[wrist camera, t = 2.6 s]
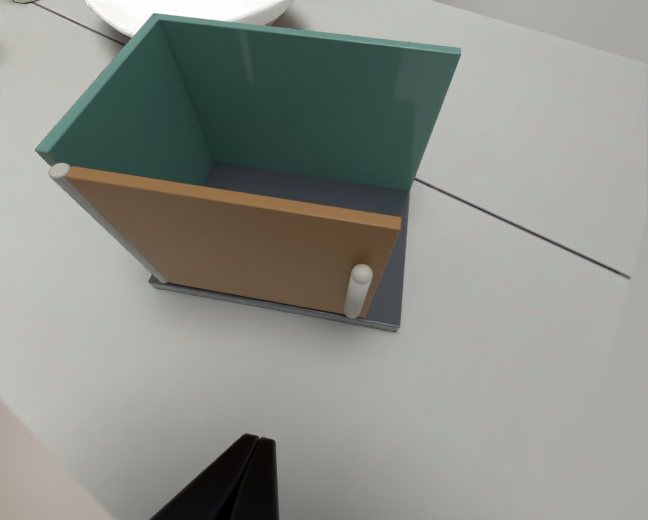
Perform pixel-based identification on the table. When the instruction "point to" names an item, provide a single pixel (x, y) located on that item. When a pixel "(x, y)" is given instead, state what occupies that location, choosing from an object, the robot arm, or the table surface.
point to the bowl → (186, 11)
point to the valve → (24, 1)
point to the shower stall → (266, 124)
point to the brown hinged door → (240, 239)
